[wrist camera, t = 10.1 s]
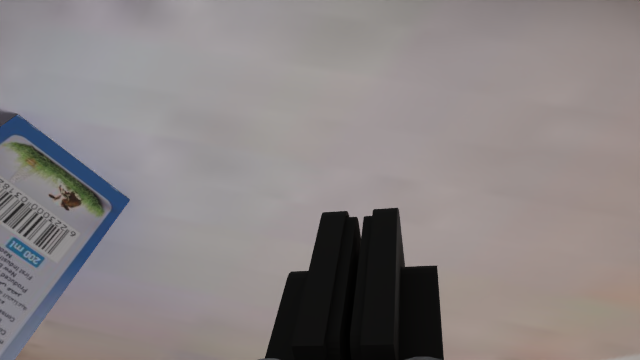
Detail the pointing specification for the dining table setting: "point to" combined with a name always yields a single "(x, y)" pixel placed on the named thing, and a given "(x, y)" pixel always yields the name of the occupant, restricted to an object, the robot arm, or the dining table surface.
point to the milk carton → (44, 227)
